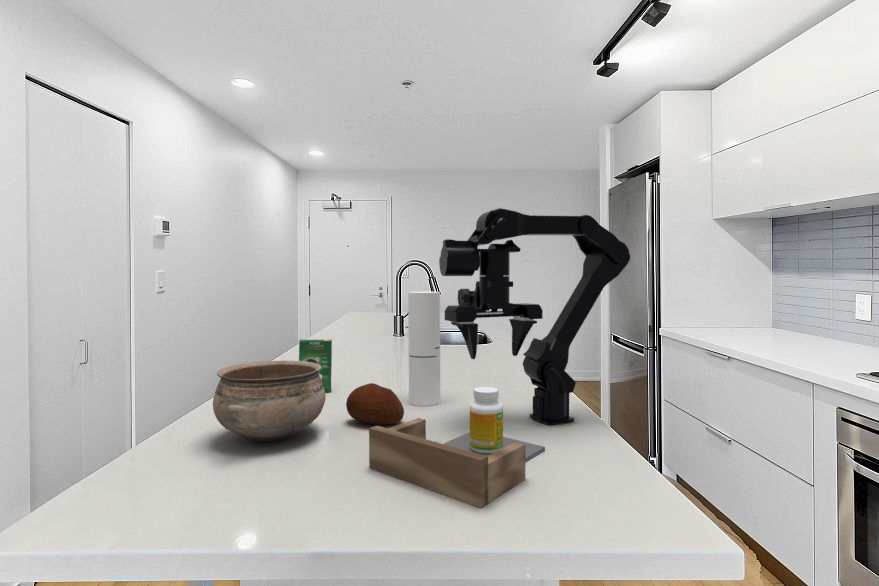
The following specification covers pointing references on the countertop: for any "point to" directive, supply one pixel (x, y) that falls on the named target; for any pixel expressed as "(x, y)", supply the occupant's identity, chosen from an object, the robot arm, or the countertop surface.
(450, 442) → the mat
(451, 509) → the countertop surface
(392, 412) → the potato
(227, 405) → the cooking pot
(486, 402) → the supplement bottle
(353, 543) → the countertop surface
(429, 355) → the cylindrical container
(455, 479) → the brown walled open frame
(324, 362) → the coffee box
